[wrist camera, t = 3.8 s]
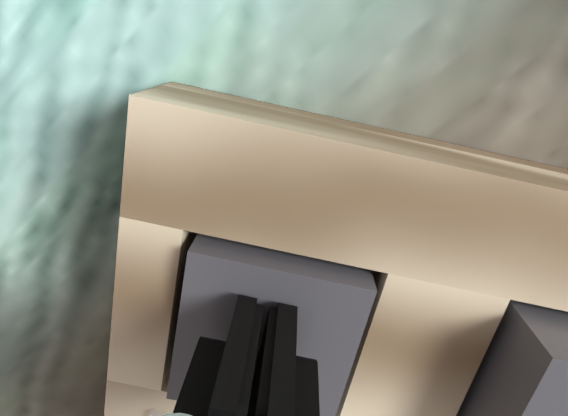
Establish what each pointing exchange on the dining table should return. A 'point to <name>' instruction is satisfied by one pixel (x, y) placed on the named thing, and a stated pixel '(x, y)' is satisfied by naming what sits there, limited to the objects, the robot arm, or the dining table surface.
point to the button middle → (523, 366)
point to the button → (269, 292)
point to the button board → (332, 238)
